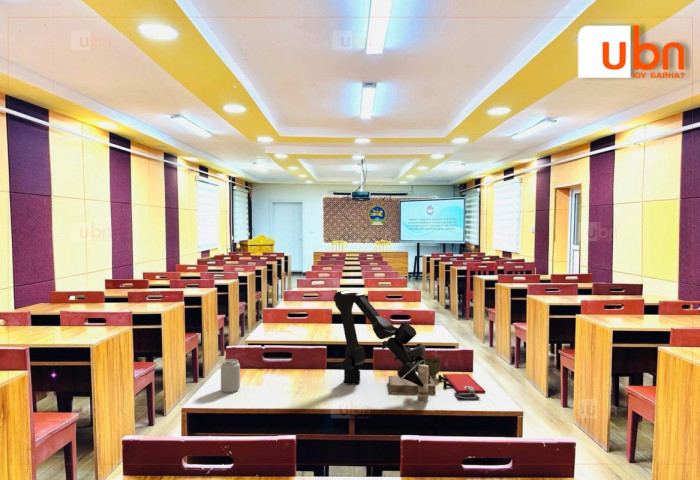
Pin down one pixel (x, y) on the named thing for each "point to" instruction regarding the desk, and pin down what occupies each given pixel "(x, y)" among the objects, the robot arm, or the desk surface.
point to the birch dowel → (424, 378)
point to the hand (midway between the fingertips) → (426, 382)
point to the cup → (433, 366)
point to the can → (230, 375)
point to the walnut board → (407, 385)
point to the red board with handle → (462, 385)
